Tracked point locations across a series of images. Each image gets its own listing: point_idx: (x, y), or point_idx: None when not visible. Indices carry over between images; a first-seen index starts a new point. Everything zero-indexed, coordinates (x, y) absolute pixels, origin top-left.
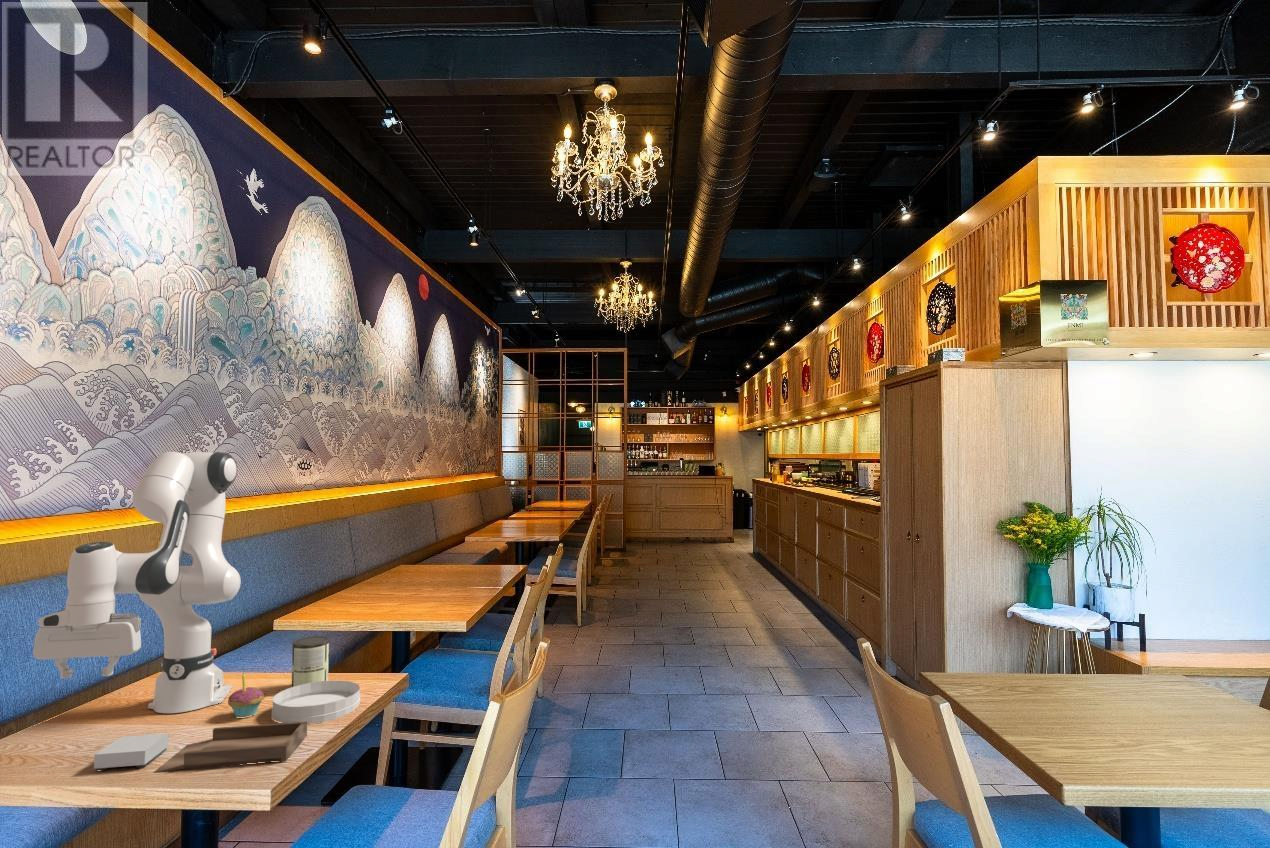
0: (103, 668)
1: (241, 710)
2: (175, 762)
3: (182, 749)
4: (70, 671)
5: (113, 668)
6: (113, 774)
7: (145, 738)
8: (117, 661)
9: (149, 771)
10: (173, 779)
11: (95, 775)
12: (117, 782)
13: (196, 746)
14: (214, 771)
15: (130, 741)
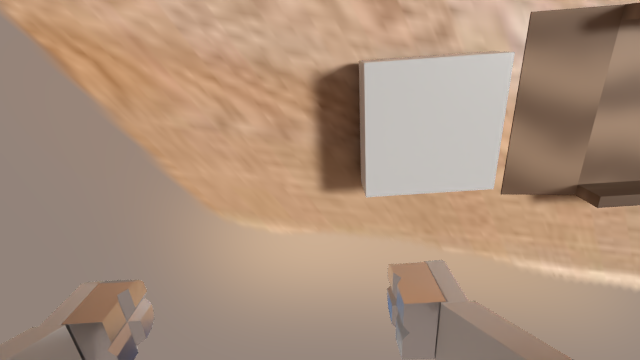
0: (407, 350)
1: None
2: (542, 158)
3: (529, 54)
4: (119, 327)
5: (458, 286)
6: None
7: (454, 92)
8: (528, 335)
9: None
10: (556, 231)
11: None
12: (442, 231)
13: (573, 54)
14: None
15: (417, 111)
